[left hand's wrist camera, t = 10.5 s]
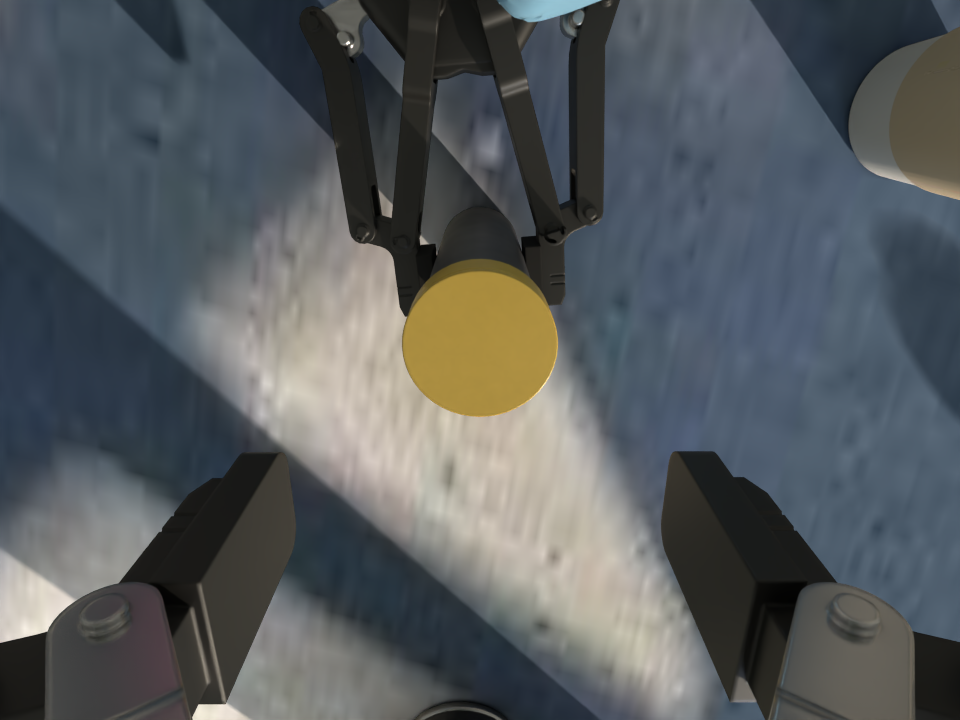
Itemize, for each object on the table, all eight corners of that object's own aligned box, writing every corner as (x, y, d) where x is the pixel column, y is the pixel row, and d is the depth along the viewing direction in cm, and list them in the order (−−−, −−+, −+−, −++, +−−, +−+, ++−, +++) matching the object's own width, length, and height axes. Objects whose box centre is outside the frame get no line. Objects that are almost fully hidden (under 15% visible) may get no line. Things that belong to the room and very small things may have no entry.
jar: (492, 294, 37) (502, 425, 21) (429, 258, 36) (388, 364, 20) (531, 231, 35) (573, 320, 19) (466, 192, 34) (455, 250, 19)
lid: (503, 417, 22) (505, 441, 20) (383, 352, 21) (375, 372, 20) (579, 305, 21) (588, 321, 19) (453, 230, 20) (450, 240, 18)
